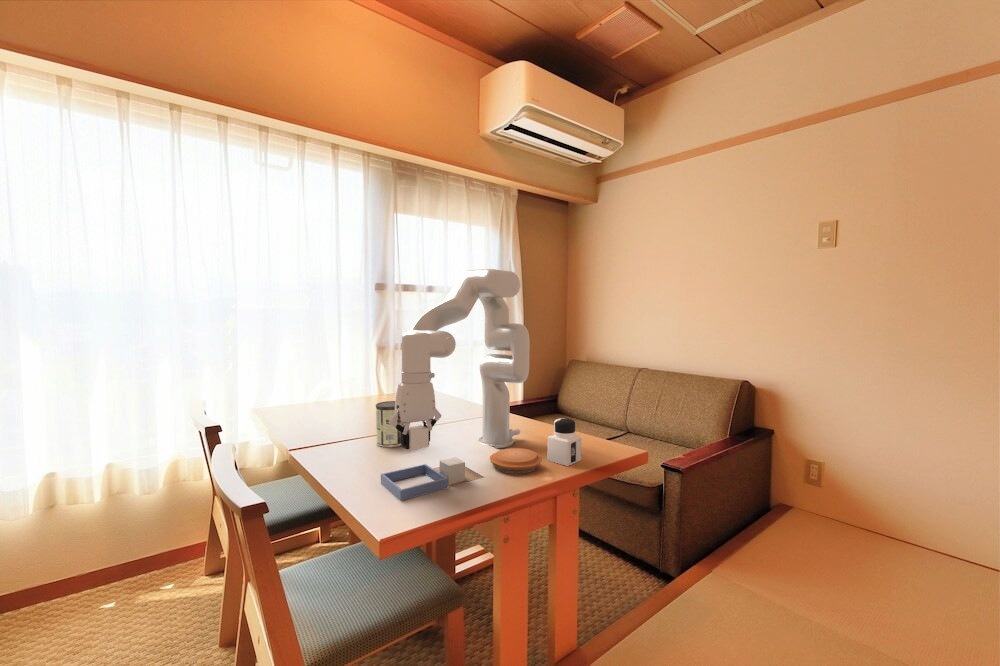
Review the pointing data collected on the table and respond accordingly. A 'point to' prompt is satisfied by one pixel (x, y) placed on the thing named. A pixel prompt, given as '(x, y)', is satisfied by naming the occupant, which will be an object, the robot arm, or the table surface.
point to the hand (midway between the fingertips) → (415, 445)
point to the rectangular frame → (417, 490)
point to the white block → (418, 437)
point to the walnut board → (469, 475)
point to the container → (564, 443)
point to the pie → (515, 460)
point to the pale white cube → (453, 469)
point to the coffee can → (386, 425)
